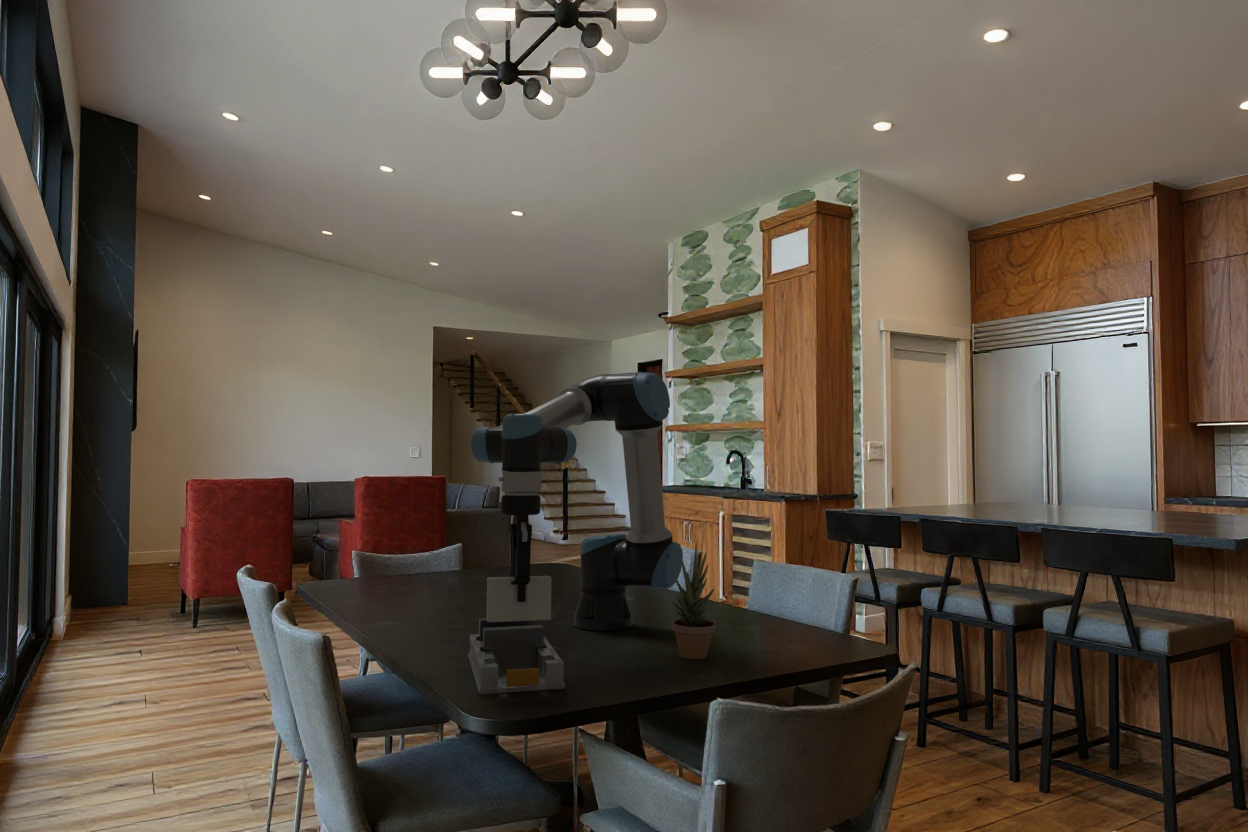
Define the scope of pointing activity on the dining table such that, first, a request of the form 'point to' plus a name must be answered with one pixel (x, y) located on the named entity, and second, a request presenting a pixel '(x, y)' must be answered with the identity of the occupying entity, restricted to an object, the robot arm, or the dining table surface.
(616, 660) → the dining table surface
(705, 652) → the potted plant
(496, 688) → the rack
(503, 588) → the panel
